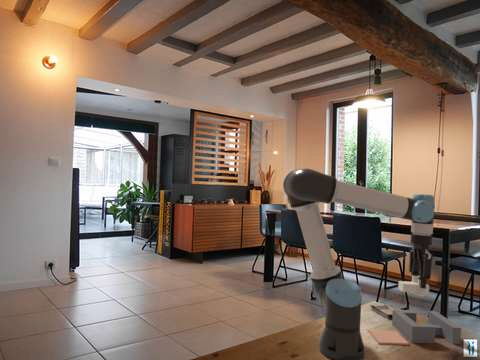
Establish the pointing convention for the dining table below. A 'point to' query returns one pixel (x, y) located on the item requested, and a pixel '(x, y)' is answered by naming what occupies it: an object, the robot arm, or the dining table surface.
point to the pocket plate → (425, 327)
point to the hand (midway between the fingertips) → (418, 294)
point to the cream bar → (410, 286)
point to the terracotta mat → (388, 337)
